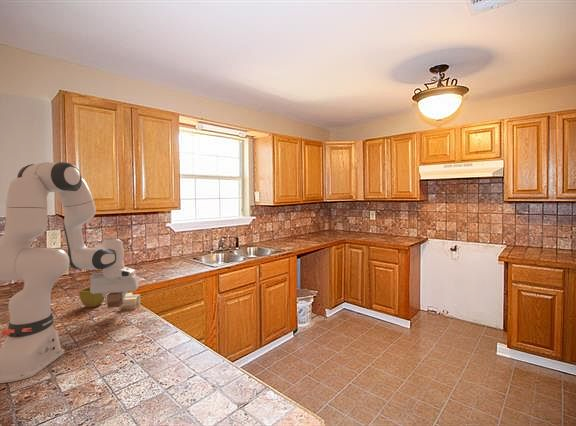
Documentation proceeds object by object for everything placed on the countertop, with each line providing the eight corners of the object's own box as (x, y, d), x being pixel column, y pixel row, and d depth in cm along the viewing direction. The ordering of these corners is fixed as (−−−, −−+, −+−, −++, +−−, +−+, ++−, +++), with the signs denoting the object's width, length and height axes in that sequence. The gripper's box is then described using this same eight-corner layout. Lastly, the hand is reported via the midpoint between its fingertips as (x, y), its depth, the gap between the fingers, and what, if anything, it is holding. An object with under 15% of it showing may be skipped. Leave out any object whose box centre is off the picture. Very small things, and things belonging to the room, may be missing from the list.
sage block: (132, 302, 162) (132, 294, 161) (124, 303, 160) (123, 295, 160) (132, 299, 165) (132, 292, 165) (124, 300, 163) (123, 293, 163)
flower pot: (93, 309, 152) (92, 291, 151) (79, 308, 154) (77, 290, 153) (107, 302, 161) (106, 286, 160) (93, 301, 162) (92, 285, 162)
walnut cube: (119, 307, 142) (118, 294, 142) (107, 307, 141) (107, 295, 141) (122, 303, 147) (122, 291, 147) (111, 304, 146) (111, 292, 146)
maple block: (135, 308, 152) (135, 299, 152) (120, 309, 152) (120, 299, 151) (140, 303, 159) (140, 294, 159) (126, 304, 158) (126, 295, 158)
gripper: (86, 275, 139) (87, 305, 139) (134, 272, 142) (135, 301, 143) (92, 272, 145) (94, 300, 146) (138, 269, 149) (139, 297, 149)
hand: (115, 301), depth 144 cm, fingers closed on walnut cube, 5 cm apart
